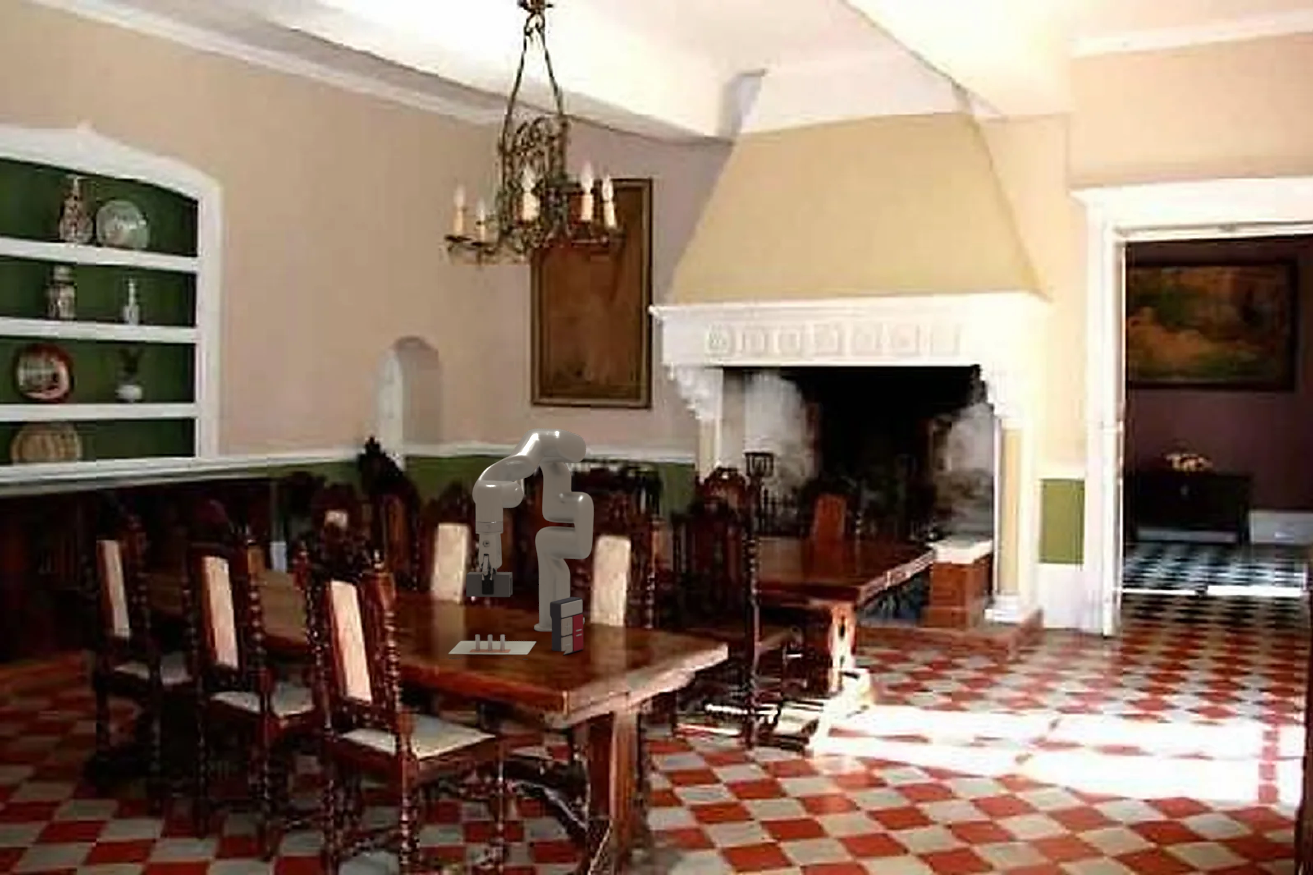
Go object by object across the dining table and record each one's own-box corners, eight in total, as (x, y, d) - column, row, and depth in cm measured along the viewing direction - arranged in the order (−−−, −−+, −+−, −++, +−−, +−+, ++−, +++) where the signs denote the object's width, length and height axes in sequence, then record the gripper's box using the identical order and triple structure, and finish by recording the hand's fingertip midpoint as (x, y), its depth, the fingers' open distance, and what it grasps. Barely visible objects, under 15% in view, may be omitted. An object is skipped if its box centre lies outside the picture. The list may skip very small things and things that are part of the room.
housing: (512, 594, 391) (512, 572, 390) (509, 597, 386) (509, 574, 385) (469, 593, 391) (469, 571, 391) (466, 596, 386) (466, 574, 386)
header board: (536, 646, 402) (536, 626, 402) (527, 659, 384) (527, 638, 384) (460, 646, 403) (460, 625, 403) (448, 659, 385) (448, 637, 385)
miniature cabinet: (562, 656, 388) (562, 603, 387) (549, 655, 390) (549, 602, 389) (585, 650, 397) (584, 597, 396) (572, 648, 399) (572, 596, 399)
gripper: (497, 531, 379) (497, 597, 380) (507, 524, 396) (507, 588, 397) (470, 530, 379) (470, 597, 380) (481, 524, 396) (481, 588, 397)
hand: (489, 592), depth 388 cm, fingers closed on housing, 4 cm apart
